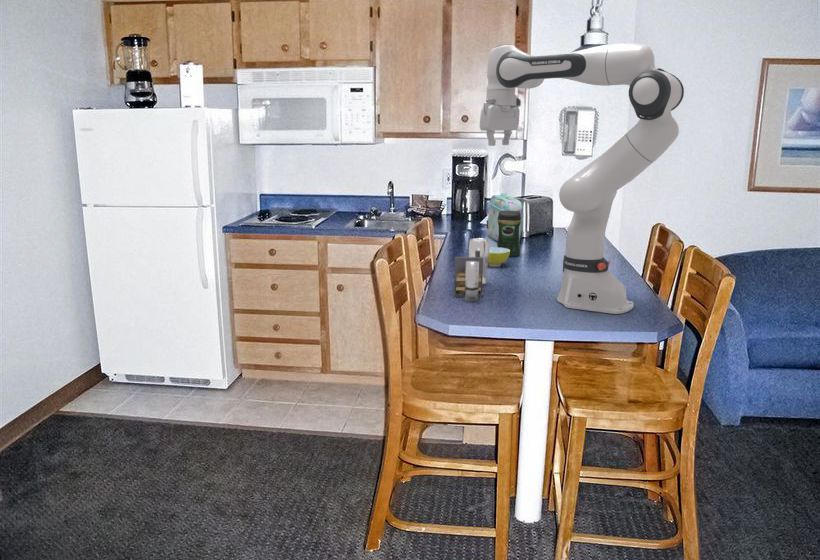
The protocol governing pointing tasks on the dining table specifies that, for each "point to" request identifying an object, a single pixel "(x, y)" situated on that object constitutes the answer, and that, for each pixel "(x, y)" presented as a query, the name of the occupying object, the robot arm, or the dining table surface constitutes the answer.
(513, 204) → the lunch box
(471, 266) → the metal cylinder
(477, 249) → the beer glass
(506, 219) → the coffee jar
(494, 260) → the bowl
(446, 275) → the dining table surface
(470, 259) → the stand
